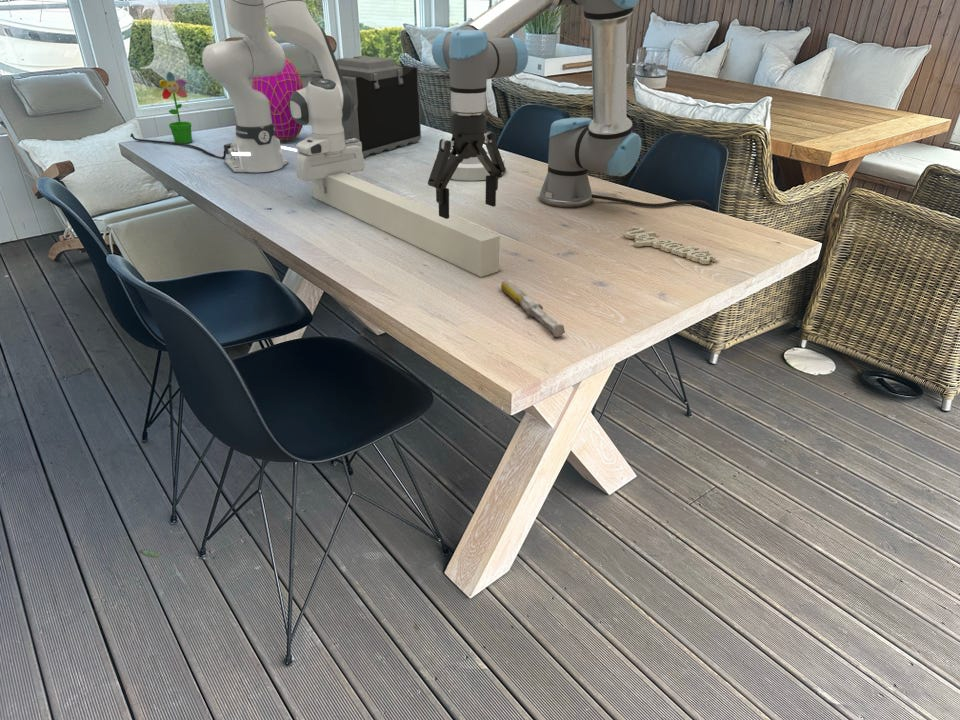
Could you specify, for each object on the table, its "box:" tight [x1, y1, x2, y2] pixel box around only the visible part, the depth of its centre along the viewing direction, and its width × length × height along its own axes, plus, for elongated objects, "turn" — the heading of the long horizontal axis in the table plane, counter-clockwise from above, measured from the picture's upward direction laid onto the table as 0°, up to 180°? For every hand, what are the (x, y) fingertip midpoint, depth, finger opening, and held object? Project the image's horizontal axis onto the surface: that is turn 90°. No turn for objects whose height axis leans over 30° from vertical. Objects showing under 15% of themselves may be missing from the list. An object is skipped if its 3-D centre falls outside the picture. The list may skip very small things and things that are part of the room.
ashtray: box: [434, 151, 505, 182], centre depth 228 cm, size 23×23×4 cm
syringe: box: [500, 279, 566, 338], centre depth 139 cm, size 25×4×3 cm, turn 21°
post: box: [311, 172, 501, 278], centre depth 178 cm, size 76×5×8 cm, turn 41°
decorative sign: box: [624, 226, 717, 265], centre depth 170 cm, size 26×1×10 cm
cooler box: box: [310, 55, 422, 158], centre depth 250 cm, size 37×22×30 cm, turn 144°
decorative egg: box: [251, 57, 305, 142], centre depth 257 cm, size 19×19×30 cm
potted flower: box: [158, 71, 193, 144], centre depth 254 cm, size 9×8×25 cm
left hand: (333, 191), depth 198 cm, fingers closed on post, 5 cm apart
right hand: (467, 211), depth 154 cm, fingers open, 13 cm apart
